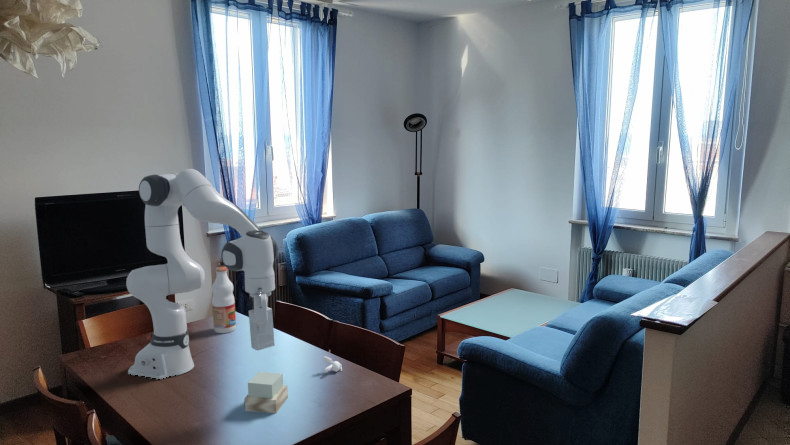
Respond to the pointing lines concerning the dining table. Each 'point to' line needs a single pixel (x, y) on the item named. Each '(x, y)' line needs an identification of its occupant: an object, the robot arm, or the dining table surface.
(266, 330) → the skincare box
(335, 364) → the rabbit figurine
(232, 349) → the dining table surface
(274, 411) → the birch base block
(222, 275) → the fruit juice
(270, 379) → the sage top block
